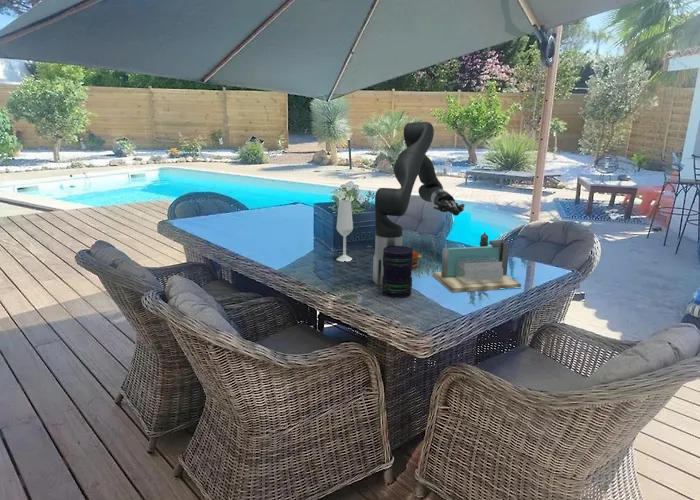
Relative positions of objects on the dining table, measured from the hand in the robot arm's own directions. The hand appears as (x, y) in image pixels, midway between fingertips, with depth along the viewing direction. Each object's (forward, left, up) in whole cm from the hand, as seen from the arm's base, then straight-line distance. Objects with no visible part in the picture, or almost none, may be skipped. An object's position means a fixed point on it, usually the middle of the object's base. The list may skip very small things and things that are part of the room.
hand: (456, 213), depth 192 cm
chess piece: (+16, +7, -22) cm, 28 cm away
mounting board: (+1, -18, -22) cm, 28 cm away
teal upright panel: (0, -14, -20) cm, 24 cm away
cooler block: (+4, -18, -20) cm, 27 cm away
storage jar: (-30, -24, -22) cm, 44 cm away
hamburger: (-17, +6, -22) cm, 29 cm away
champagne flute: (-39, +19, -22) cm, 49 cm away
